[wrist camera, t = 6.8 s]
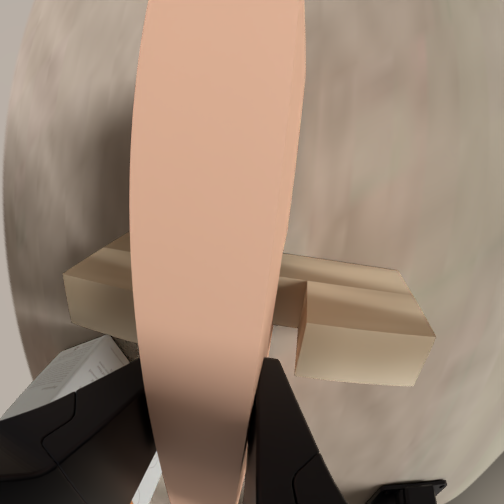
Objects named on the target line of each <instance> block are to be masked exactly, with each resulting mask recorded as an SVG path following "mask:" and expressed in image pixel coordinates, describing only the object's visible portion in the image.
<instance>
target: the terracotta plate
mask: <svg viewBox="0 0 504 504" xmlns="http://www.w3.org/2000/svg"><path fill="white" fill-rule="evenodd" d="M305 76H306V53H305V7H304V0H148V5H147V10H146V16H145V21H144V27H143V33H142V39H141V46H140V53H139V60H138V68H137V76H136V85H135V95H134V106H133V118H132V133H131V153H130V192H129V210H130V250H131V270H132V285H133V298H134V310H135V320H136V329H137V338H138V346H139V354H140V361H141V368H142V375H143V382H144V388H145V394H146V400H147V405H148V411H149V416H150V421H151V426H152V431H153V436H154V440H155V445H156V449H157V454H158V458H159V462H160V466H161V470H162V474H163V478H164V482H165V486H166V489H167V493H168V496H169V500H170V503H171V504H238V502H239V497H240V493H241V489H242V485H243V480H244V476H245V472H246V459H247V445H248V437H249V431H250V425H251V418H252V412H253V406H254V400H255V393H256V389H257V384H258V380H259V376H260V372H261V368H262V363H263V359H264V357H267V358H268V355H269V349H270V343H271V337H272V331H273V324H272V321H273V314H274V308H275V301H276V295H277V288H278V281H279V274H280V267H281V260H282V254H283V249H284V245H285V240H286V235H287V229H288V222H289V215H290V207H291V199H292V191H293V183H294V175H295V167H296V159H297V150H298V142H299V133H300V124H301V115H302V105H303V96H304V86H305Z"/></svg>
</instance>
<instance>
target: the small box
mask: <svg viewBox="0 0 504 504" xmlns="http://www.w3.org/2000/svg"><path fill="white" fill-rule="evenodd" d="M128 363H130V362H129V360H128V359H127V358H126V357H125V355H124V354H123V353H122V351H121V350H120V349H119V347H118V346H117V344H116V343H115V342H114V340H113V339H112V337H111V336H110V335H104V336H102V337H99V338H96V339H94V340H91V341H88V342H86V343H83V344H80V345H77V346H75V347H72V348H69V349H67V350H64V351H61V352H60V353H59V354H58V355H57V356H56V357H55V358H54V359H53V360H52V361H51V362H50V364H49V365H48V366H47V367H46V368H45V369H44V370H43V371H42V372H41V373H40V374H39V375H38V376H37V377H36V379H35V380H34V381H33V382H32V383H31V384H30V385H29V386H28V387H27V389H26V390H25V391H24V392H23V393H22V394H21V395H20V396H19V397H18V399H17V400H16V401H15V402H14V403H13V404H12V405H11V406H10V408H9V409H8V410H7V411H6V412H5V413H4V415H3V416H2V417H1V418H0V421H1V420H4V419H7V418H10V417H13V416H16V415H18V414H21V413H24V412H27V411H30V410H33V409H35V408H38V407H40V406H43V405H46V404H48V403H50V402H52V401H55V400H57V399H59V398H61V397H63V396H65V395H67V394H69V393H71V392H74V391H75V392H76V390H78V389H80V388H82V387H84V386H86V385H88V384H90V383H92V382H94V381H96V380H98V379H99V378H101V377H103V376H105V375H107V374H109V373H111V372H113V371H115V370H117V369H119V368H121V367H123V366H125V365H127V364H128ZM161 474H162V470H161V466H160V462H159V458H158V454H157V451H156V453H155V455H154V457H153V459H152V461H151V463H150V465H149V467H148V469H147V471H146V473H145V475H144V477H143V479H142V481H141V483H140V485H139V487H138V489H137V491H136V493H135V495H134V497H133V499H132V501H131V503H130V504H149V503H150V500H151V498H152V496H153V493H154V491H155V489H156V486H157V484H158V481H159V479H160V477H161Z"/></svg>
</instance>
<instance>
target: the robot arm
mask: <svg viewBox="0 0 504 504" xmlns="http://www.w3.org/2000/svg"><path fill="white" fill-rule="evenodd" d="M156 451H157V449H156V445H155V440H154V436H153V431H152V426H151V421H150V416H149V411H148V405H147V400H146V394H145V388H144V382H143V375H142V368H141V361H140V358H138V359H136V360H134V361H132V362H130V363H128V364H127V365H125V366H123V367H121V368H119V369H117V370H115V371H113V372H111V373H109V374H107V375H105V376H103V377H101V378H99V379H98V380H96V381H94V382H92V383H90V384H88V385H86V386H84V387H82V388H80V389H78V390H76V392H75V391H74V392H71V393H69V394H67V395H65V396H63V397H61V398H59V399H57V400H55V401H52V402H50V403H48V404H46V405H43V406H40V407H38V408H35V409H33V410H30V411H27V412H24V413H21V414H18V415H16V416H13V417H10V418H7V419H4V420H1V421H0V504H130V503H131V501H132V499H133V497H134V495H135V493H136V491H137V489H138V487H139V485H140V483H141V481H142V479H143V477H144V475H145V473H146V471H147V469H148V467H149V465H150V463H151V461H152V459H153V457H154V455H155V453H156ZM446 486H447V483H446V480H443V481H435V482H427V483H417V484H405V485H388V486H383V487H381V488H379V490H378V491H377V492H376V493H375V494H374V495H373V496H372V497H371V498H370V500H369V501H368V502H367V503H366V504H437V501H436V495H437V494H438V493H439V492H440V491H442V490H443V489H444V488H445V487H446ZM243 504H348V503H347V501H346V500H345V498H344V497H343V495H342V494H341V492H340V490H339V489H338V487H337V485H336V484H335V482H334V480H333V478H332V476H331V474H330V472H329V470H328V468H327V466H326V464H325V462H324V460H323V458H322V455H321V454H320V453H319V449H318V447H317V445H316V443H315V440H314V438H313V436H312V434H311V431H310V429H309V427H308V425H307V422H306V420H305V418H304V416H303V413H302V411H301V409H300V407H299V404H298V402H297V400H296V398H295V395H294V393H293V391H292V389H291V386H290V384H289V382H288V379H287V377H286V375H285V373H284V370H283V368H282V366H281V363H280V361H279V360H278V359H274V358H267V357H264V359H263V363H262V368H261V372H260V376H259V380H258V384H257V389H256V393H255V400H254V406H253V412H252V418H251V425H250V431H249V437H248V445H247V459H246V473H245V487H244V500H243Z"/></svg>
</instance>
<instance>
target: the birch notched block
mask: <svg viewBox="0 0 504 504" xmlns="http://www.w3.org/2000/svg"><path fill="white" fill-rule="evenodd" d="M63 280H64V286H65V292H66V298H67V303H68V308H69V313H70V318H71V323H73V324H76V325H79V326H82V327H85V328H88V329H91V330H94V331H97V332H100V333H103V334H107V335H110V336H113V337H116V338H120V339H123V340H127V341H130V342H134V343H137V344H138V338H137V329H136V320H135V310H134V298H133V285H132V270H131V250H130V231H129V232H128V233H126V234H124V235H123V236H121V237H120V238H118V239H116V240H115V241H113V242H111V243H110V244H108V245H107V246H105V247H103V248H102V249H100V250H98V251H97V252H95V253H94V254H92V255H91V256H89V257H87V258H86V259H84V260H83V261H81V262H80V263H78V264H77V265H75V266H74V267H72V268H71V269H69V270H67V271H66V272H64V273H63ZM272 324H273V325H279V326H286V327H292V328H298V337H297V350H296V363H295V374H294V376H298V377H305V378H313V379H322V380H331V381H340V382H351V383H362V384H376V385H392V386H413V385H414V384H415V382H416V380H417V378H418V376H419V374H420V372H421V369H422V367H423V365H424V363H425V361H426V359H427V357H428V355H429V352H430V350H431V348H432V346H433V344H434V341H435V339H436V336H435V334H434V332H433V330H432V328H431V326H430V325H429V323H428V321H427V319H426V317H425V316H424V314H423V312H422V310H421V308H420V307H419V305H418V303H417V301H416V300H415V298H414V296H413V295H412V293H411V291H410V290H409V288H408V286H407V285H406V283H405V281H404V280H403V278H402V276H401V275H400V273H399V271H397V270H391V269H384V268H378V267H371V266H364V265H358V264H351V263H345V262H338V261H331V260H325V259H318V258H311V257H305V256H298V255H291V254H284V253H283V254H282V260H281V267H280V274H279V281H278V288H277V295H276V301H275V308H274V314H273V321H272Z"/></svg>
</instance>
